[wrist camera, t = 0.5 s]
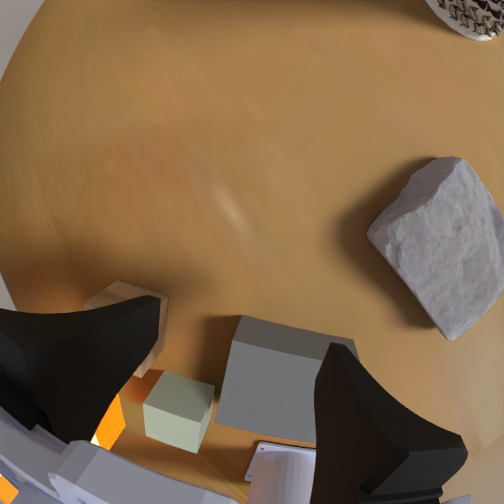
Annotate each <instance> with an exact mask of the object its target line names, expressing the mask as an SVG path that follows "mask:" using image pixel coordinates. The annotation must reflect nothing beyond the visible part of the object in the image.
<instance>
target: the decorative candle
mask: <svg viewBox="0 0 504 504" xmlns="http://www.w3.org/2000/svg"><path fill="white" fill-rule="evenodd" d="M425 2H426V3H427V4H428V5H429V7H430V8H431V9H432V10H433V12H434V13H435V14H436V15H437V16H438V17H439V18H440V19H441V20H443V21H444V22H445V23H446V24H447V25H448V26H449V27H450V28H452V29H453V30H455V31H457V32H458V33H460V34H461V35H463V36H464V37H466V38H469V39H472V40H475V41H478V42H482V41H488V40H491V39H492V37H493V36H494V34H496V35H497V36H500V32H501V31H502V30H504V0H425Z"/></svg>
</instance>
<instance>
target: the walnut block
mask: <svg viewBox="0 0 504 504" xmlns="http://www.w3.org/2000/svg"><path fill="white" fill-rule="evenodd" d="M143 295H152V296H155V297H158V298H161V305H160V320H159V337H158V340H157V341H156V343H155V345H154V347H153V348H152V350H151V352H150V353H149V355H148V356H147V357H146V359H145V360H144V361H143V362H142V364H141V365H140V366H139V367H138V369H137V370H136V371H135V372H134V373H133V375H135V376H137V377H140V378H142V377H143V375H144V374H145V373H146V371H147V370H148V369H149V367H150V366H151V365H152V363H153V362H154V361H155V359H156V358H157V357H158V355H159V354H160V353H161V351H162V350H163V349H164V347H165V346H166V330H167V313H168V299H169V296H167V295H163V294H160V293H157V292H153V291H150V290H147V289H143V288H140V287H137V286H134V285H130V284H127V283H124V282H121V281H118V280H117V281H116V282H114V283H113V284H111V285H110V286H108V287H106V288H105V289H103V290H102V291H100V292H99V293H97V294H96V295H94V296H93V297H91V298H90V299H88V300H87V301H85V302H84V303H83V304H84V311H85V310H90V309H95V308H99V307H103V306H107V305H111V304H115V303H118V302H122V301H125V300H129V299H132V298H136V297H139V296H143Z"/></svg>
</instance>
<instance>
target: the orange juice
mask: <svg viewBox="0 0 504 504" xmlns="http://www.w3.org/2000/svg"><path fill="white" fill-rule="evenodd" d="M124 427H125V422H124V418H123V414H122V410H121V405H120V401H119V396H118V394H117V395H116V397H115V398H114V400H113V402H112V403H111V405H110V407H109V408H108V410H107V412H106V414H105V415H104V417H103V419H102V421H101V423H100V425H99V426H98V428H97V430H96V432H95V435H94V437H93V439H92V441H91V443H93V444H96V445H98V446H101V447H103V448H105V449H107V450H109V449H110V448H111V446H112V445H113V443H114V442H115V440H116V439H117V437H118V436H119V434H120V433H121V431H122V430H123V428H124ZM18 492H19V491H18V490H17V489H16V488H14V487H13V486H12V485H11V484H10V483H9V482H8V481H7V480H6V479H5V478H4V477H3V476H2V475H1V474H0V499H1V500H2V501H3V502H4V503H5V504H10V503H11V501H12V500H13V499H14V497H15V496H16V495H17V494H18Z"/></svg>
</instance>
